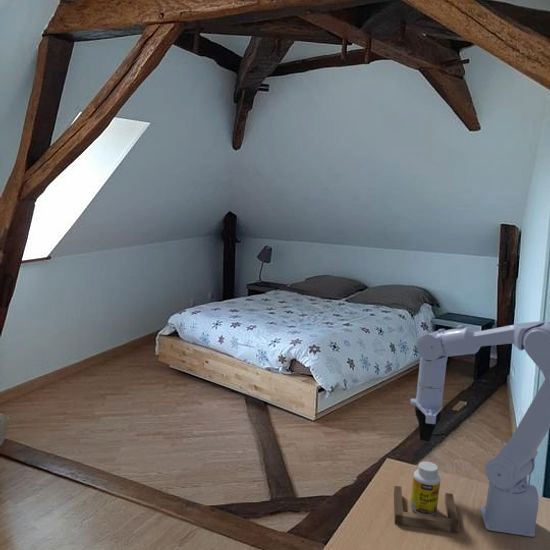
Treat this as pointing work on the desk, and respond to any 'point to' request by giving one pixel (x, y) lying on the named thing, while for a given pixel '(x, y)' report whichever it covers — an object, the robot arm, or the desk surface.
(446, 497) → the wooden u-shaped block
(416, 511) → the supplement bottle
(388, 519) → the desk surface
